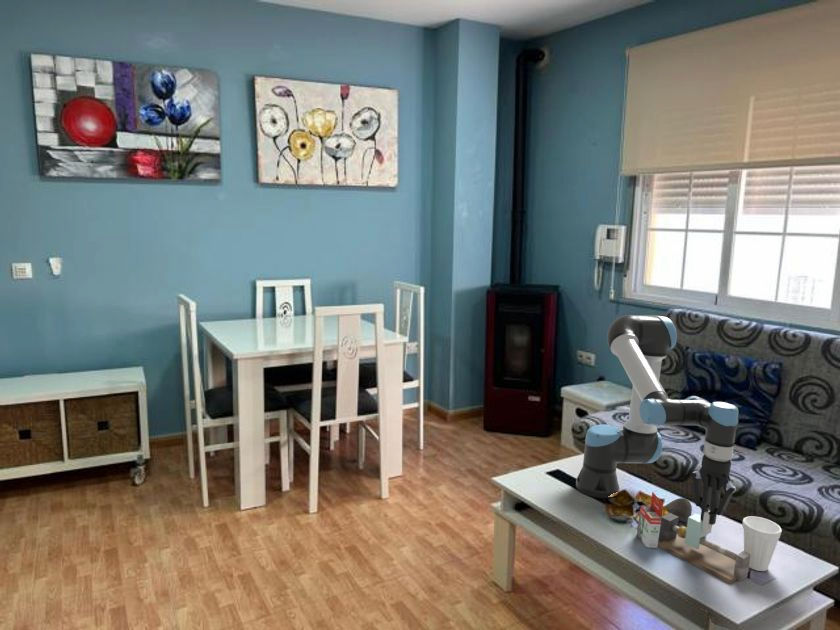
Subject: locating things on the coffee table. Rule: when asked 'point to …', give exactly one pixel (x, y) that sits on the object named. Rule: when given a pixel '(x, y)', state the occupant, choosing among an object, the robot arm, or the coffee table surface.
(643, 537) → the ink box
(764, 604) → the coffee table surface
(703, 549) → the wooden slider rod stand
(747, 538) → the cup
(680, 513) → the stone
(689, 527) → the sleeve
